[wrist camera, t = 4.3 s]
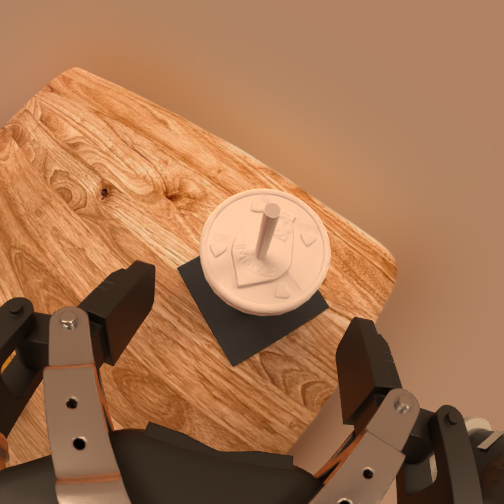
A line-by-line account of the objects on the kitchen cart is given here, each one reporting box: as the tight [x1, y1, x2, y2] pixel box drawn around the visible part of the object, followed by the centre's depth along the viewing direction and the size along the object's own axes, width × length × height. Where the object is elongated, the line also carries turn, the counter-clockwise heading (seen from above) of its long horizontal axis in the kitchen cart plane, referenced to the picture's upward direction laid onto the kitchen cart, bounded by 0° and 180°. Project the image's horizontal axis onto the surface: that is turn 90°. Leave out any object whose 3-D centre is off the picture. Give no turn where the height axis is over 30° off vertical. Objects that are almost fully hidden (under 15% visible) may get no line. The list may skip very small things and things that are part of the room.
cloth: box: [178, 256, 329, 366], centre depth 22 cm, size 9×9×1 cm
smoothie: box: [200, 189, 331, 316], centre depth 16 cm, size 6×6×14 cm
